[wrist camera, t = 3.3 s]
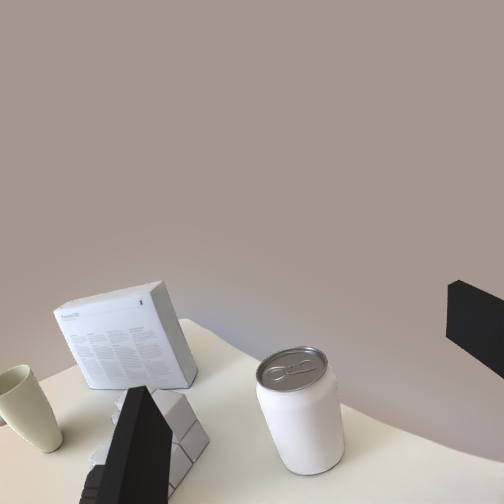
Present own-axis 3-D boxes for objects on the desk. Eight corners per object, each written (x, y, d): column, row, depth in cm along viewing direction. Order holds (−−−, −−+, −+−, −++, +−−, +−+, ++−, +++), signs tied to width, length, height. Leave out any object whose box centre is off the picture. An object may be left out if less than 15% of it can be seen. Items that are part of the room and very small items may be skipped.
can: (277, 438, 28) (248, 355, 25) (335, 422, 28) (320, 335, 25) (286, 484, 22) (253, 404, 19) (352, 464, 22) (344, 378, 19)
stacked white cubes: (140, 420, 35) (114, 377, 33) (210, 440, 30) (184, 393, 28) (88, 474, 24) (51, 432, 23) (156, 515, 19) (113, 474, 17)
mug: (86, 428, 34) (44, 364, 31) (50, 469, 24) (-3, 403, 22) (50, 414, 37) (15, 357, 34) (18, 447, 28) (-25, 388, 25)
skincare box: (200, 367, 46) (164, 278, 42) (191, 388, 41) (149, 293, 37) (103, 372, 49) (67, 299, 46) (90, 389, 44) (49, 312, 40)
